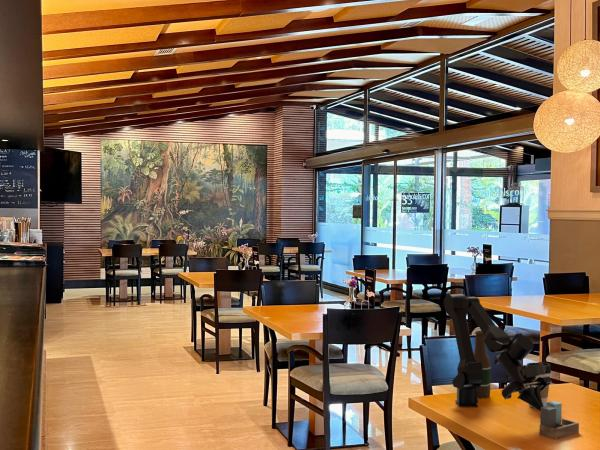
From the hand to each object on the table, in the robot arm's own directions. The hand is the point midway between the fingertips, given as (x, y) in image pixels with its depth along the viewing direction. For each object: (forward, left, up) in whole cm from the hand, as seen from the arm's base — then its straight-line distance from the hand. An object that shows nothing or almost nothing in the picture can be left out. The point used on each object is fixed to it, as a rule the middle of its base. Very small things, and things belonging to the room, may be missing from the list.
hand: (542, 410), depth 206 cm
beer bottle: (-8, +42, -7) cm, 43 cm away
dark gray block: (+1, -2, -7) cm, 7 cm away
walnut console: (+5, -1, -7) cm, 8 cm away
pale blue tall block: (+5, +4, -7) cm, 9 cm away
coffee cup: (+9, +29, -7) cm, 31 cm away
